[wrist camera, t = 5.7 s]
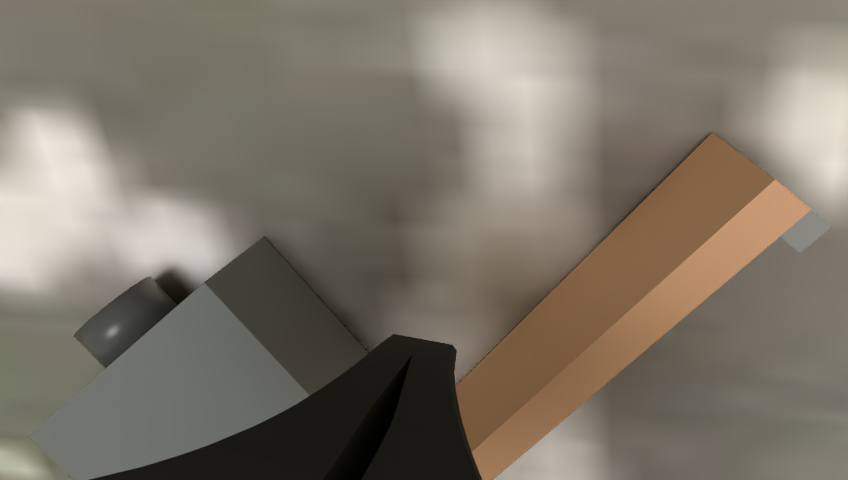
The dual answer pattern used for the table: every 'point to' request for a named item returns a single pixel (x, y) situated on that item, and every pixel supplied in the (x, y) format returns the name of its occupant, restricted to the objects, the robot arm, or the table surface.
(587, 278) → the side door
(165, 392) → the box
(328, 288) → the table surface
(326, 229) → the table surface
